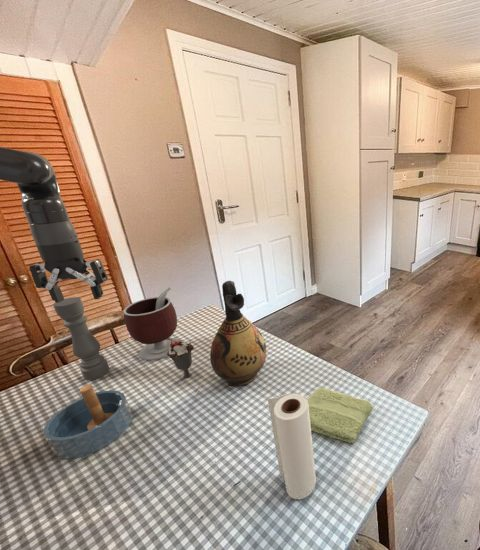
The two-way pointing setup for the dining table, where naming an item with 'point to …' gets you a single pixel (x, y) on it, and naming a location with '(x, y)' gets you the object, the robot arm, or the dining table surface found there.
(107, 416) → the wooden stamp
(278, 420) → the paper towel roll
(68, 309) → the candle holder
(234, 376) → the ceramic jug
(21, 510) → the dining table surface
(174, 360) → the sundae
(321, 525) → the dining table surface
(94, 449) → the bowl
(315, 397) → the washcloth
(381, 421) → the dining table surface
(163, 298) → the mate gourd
